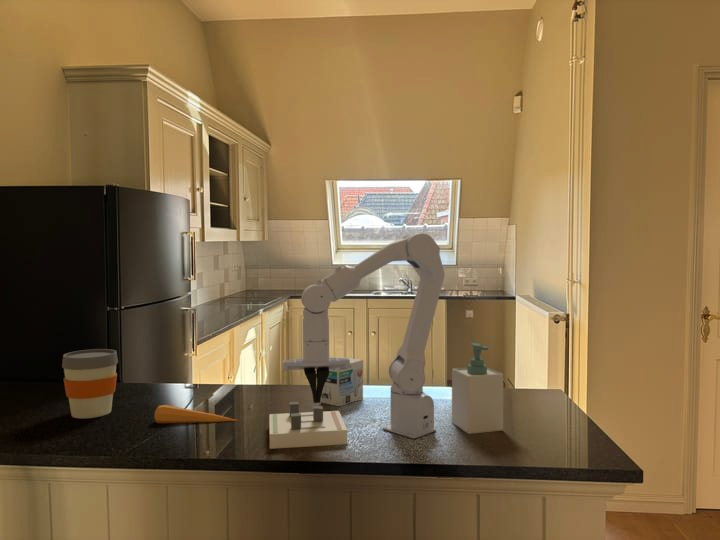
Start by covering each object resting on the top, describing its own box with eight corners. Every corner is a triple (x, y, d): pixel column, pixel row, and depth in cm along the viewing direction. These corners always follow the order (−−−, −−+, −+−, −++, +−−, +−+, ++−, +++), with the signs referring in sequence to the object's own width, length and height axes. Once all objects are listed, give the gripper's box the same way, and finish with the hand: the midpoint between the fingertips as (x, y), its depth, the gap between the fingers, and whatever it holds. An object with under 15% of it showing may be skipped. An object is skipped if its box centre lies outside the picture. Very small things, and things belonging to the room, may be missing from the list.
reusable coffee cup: (99, 403, 147) (97, 347, 147) (129, 410, 141) (128, 351, 140) (52, 415, 137) (50, 355, 136) (83, 423, 130) (81, 360, 130)
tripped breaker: (322, 417, 123) (322, 406, 123) (323, 420, 121) (323, 408, 121) (313, 418, 123) (313, 406, 122) (313, 420, 121) (313, 409, 120)
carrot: (152, 427, 130) (151, 412, 128) (158, 415, 134) (157, 400, 132) (238, 434, 131) (238, 419, 129) (241, 422, 135) (242, 407, 133)
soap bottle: (468, 434, 122) (469, 348, 121) (451, 422, 130) (451, 341, 129) (503, 431, 124) (504, 346, 123) (484, 419, 132) (485, 340, 132)
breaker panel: (338, 423, 130) (338, 398, 129) (347, 444, 116) (347, 415, 116) (269, 427, 127) (269, 401, 127) (269, 448, 113) (269, 419, 113)
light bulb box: (339, 407, 143) (339, 366, 143) (319, 403, 147) (319, 362, 147) (364, 398, 152) (364, 359, 151) (345, 394, 156) (344, 356, 155)
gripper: (346, 336, 126) (347, 395, 127) (282, 338, 124) (282, 398, 124) (351, 341, 119) (351, 403, 120) (282, 343, 117) (283, 407, 117)
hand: (316, 401), depth 122 cm, fingers closed
